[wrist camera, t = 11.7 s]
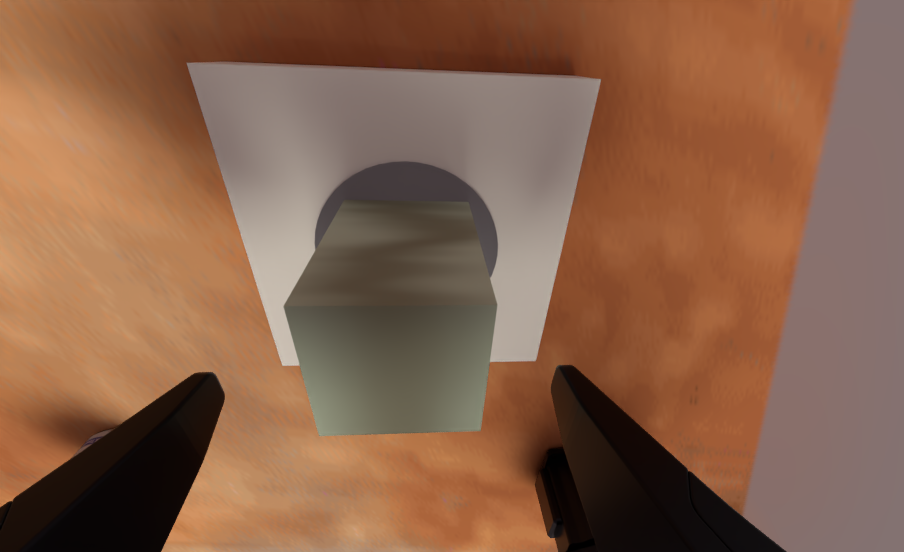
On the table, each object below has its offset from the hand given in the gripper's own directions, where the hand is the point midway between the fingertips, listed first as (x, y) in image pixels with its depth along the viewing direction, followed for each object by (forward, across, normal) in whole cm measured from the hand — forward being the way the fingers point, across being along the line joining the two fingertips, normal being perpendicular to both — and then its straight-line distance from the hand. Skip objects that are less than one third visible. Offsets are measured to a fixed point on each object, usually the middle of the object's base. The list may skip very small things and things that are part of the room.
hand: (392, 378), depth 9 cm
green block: (+7, 0, 0) cm, 7 cm away
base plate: (+10, 0, 0) cm, 10 cm away
